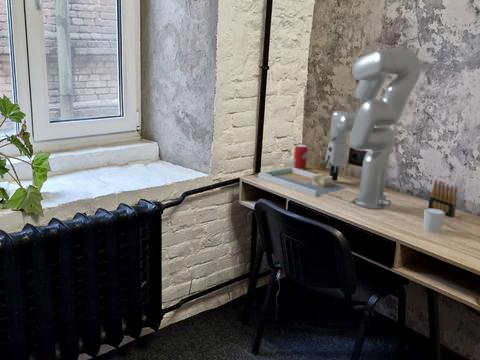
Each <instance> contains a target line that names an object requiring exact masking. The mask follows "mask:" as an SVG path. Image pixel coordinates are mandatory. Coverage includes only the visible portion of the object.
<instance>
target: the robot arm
mask: <svg viewBox="0 0 480 360" xmlns="http://www.w3.org/2000/svg"><path fill="white" fill-rule="evenodd" d="M421 64H422V63H421V61H420V59H419V57H418V55H416V54H415V53H414V52H411V51H408V50H398V49H397V50H396V49H378V50H377V49H376V50H375V51H372V52H370V53H368V54H365V55H363V56H361V57H359V58H358V59H356V61H355V62H354V63H353V66H352V69H351V73H352V77H353V78H354V79H355V80H357V81H359V82H358V84H357V86H356V88H355V91H354V92H355V95H356V97H357V98H358V99H359V100H360V101H362V102H363V103H362V104H361V105H360V106H359V109H358V111H357V113H355V112H354V113H349V111H345V110H344V111H343V110H335V111H332V114H331V122H330V130H329V139H328V144H327V149H326V154H325V160H324V161H325V162H324V163H325V164H326V166H325V168H326V169H329V170H328V171H329V176H332V182H333V181H334V182H336V181H338V176H339V173H340V169H341V167H343V166H344V165H346V164H347V160H348V133H350V134H349V144H350V146H351V148H352V149H353V150H355V151H360V152H364V151H367V152H366V153H365V155H364V157H363V160H362V167H361V175H360V182H359V189H358V196H357V197H356V198H353V203H354V204H355V205H357V206H359V207H362V208H365V209H372V210H373V209H374V210H378V209H379V210H380V209H384V208H386V207H391V204H392V200H390V199H387V197H386V196H387V195H386V194H385V193H384V192H385V185H386V180H387V172H388V169H389V167H388V166H389V161H390V156H391V152H392V150H393V147H394V145H395V144H394V143H395V140H396V134H395V132H394V130H393V129H392V128H391V127H390V126H394V125H396V124H397V123H398V122H399V120H400V119H401V116H402V114H403V112H404V110H405V107H406V105H407V102H408V100H409V97H410V95H411V93H412V91H413V89H414V87H415V86H416V84H417V82H418V81H419V78H420V75H421V70H422V68H421ZM389 75H396V76H395V78H394V79H392V81H391V82H389V83H388V85H387V87H386V88H385V91H384V94H383V96H382V98H380V99H376V98H377V96H378V94H379V92H380V91H381V89H382V87H383V86H384V83H385V82H386V79H387V78H388V76H389Z"/></svg>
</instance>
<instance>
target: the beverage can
mask: <svg viewBox="0 0 480 360" xmlns="http://www.w3.org/2000/svg"><path fill="white" fill-rule="evenodd" d="M293 151H294V152H293V161H292V162H293V163H292V167H293V168H297V169H300V170H304V171H305V169H306V168H307V157H308V147H307V145H305V144H296V145H295V147H294V150H293Z"/></svg>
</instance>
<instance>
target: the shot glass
mask: <svg viewBox="0 0 480 360" xmlns="http://www.w3.org/2000/svg"><path fill="white" fill-rule="evenodd" d="M423 211H424V213H423V226H422V229H423V230H424V231H426V232H428V233H433V234H434V233H435V234H436V233H437V234H439V233H440V232H441V230H442V226H443V223H444V220H445V216H446V215H445V212H444V211H442V210H439V209H435V208H428V207H426V208H424V210H423Z"/></svg>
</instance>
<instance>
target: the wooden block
mask: <svg viewBox="0 0 480 360" xmlns="http://www.w3.org/2000/svg"><path fill="white" fill-rule="evenodd" d="M315 174H316V175H313V178H312V179H311V182H312V184H313V185H317V186H320V187H327V186H331V184H332V182H333V180H332V176H330V174H325V173H315Z"/></svg>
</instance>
